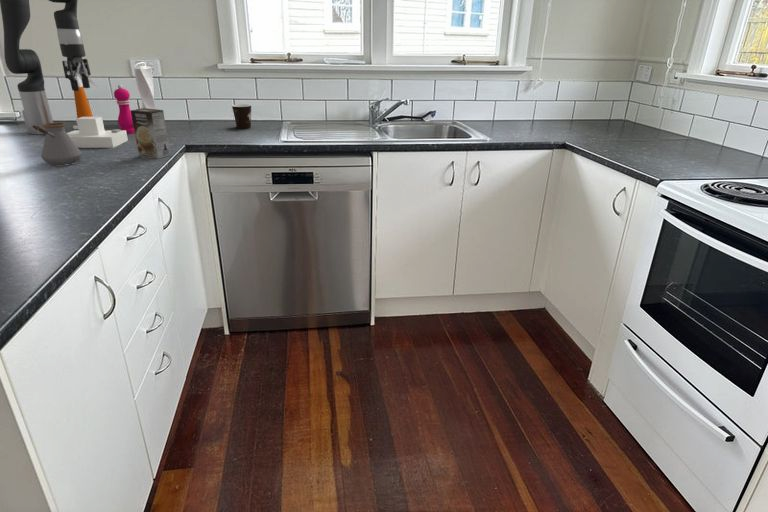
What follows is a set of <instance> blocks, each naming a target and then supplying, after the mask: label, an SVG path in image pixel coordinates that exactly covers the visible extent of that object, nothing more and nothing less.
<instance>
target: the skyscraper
mask: <svg viewBox="0 0 768 512" xmlns="http://www.w3.org/2000/svg"><path fill="white" fill-rule="evenodd" d="M141 64H144V65H141ZM138 65H140V66H138ZM137 66H138V67H137ZM133 70H134V77H135V81H136V86H137V89H138V93H139V96H140V98H141V106H142V107H140V103H139V100H138V98H137V99H136V102H137V103H136V104H137V109H141V108H148V109H157V105H156V102H155V98H154V97H155V95H154V94H155V91H154V89H155V86H154V78H153V71H152V67H151V66H147V62H146V61H145V62H144V61H141V62H137V63H135V65H134V67H133ZM157 110H158V109H157Z"/></svg>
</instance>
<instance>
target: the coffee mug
mask: <svg viewBox="0 0 768 512" xmlns="http://www.w3.org/2000/svg"><path fill="white" fill-rule="evenodd" d="M231 108H232V112H233V117H234V121H235V126H236V128H237V129H239V130H240V129H241V130H242V129H243V130H245V129H251V127H252V104H245V103H242V104H241V103H240V104H232V105H231Z"/></svg>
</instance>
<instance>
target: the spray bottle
mask: <svg viewBox="0 0 768 512" xmlns="http://www.w3.org/2000/svg"><path fill="white" fill-rule="evenodd" d="M82 74H83V73H82ZM81 78H82V77H81V76H80V74H78V75H77V82H78V86H79V91H73V94H74V95H73V97H74V103H75V109H76V110H75V111H76V119H78V118H81V117H94V116H93V113H92V110H91V107H90V104H89V100H88V98H87V94H86V92H85V88H84V87H83V84H82V79H81ZM88 80H89V84H91V85H93V86H94V87H98V85H97V84H96V83H95V82H94V81H92V79H91V78H90V77H89V78H88Z"/></svg>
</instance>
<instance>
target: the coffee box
mask: <svg viewBox="0 0 768 512" xmlns="http://www.w3.org/2000/svg"><path fill="white" fill-rule="evenodd" d="M130 110H131V116H132V121H133V127H134V132H135V133H134V137H135V141H136V146H137V147H136V148H137V154H138V156H139V157H142V158H149V159H158V160H159V159H162V158H165V157H169V156H171V153H170V152H171V151H170V144H169V139H168V132H167V126H166V120H165V113H164V110H163V109H148V108H142V107H140V109H138V108H136V109H130Z"/></svg>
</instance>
